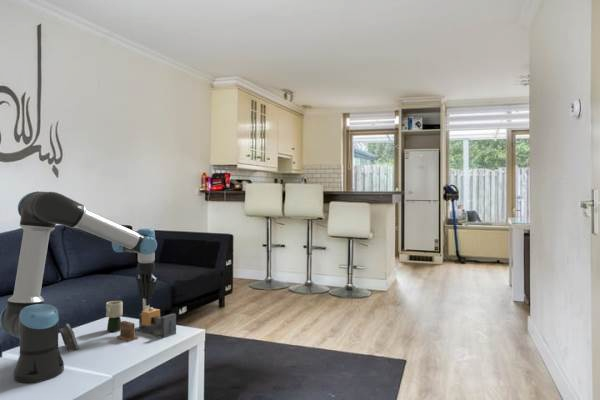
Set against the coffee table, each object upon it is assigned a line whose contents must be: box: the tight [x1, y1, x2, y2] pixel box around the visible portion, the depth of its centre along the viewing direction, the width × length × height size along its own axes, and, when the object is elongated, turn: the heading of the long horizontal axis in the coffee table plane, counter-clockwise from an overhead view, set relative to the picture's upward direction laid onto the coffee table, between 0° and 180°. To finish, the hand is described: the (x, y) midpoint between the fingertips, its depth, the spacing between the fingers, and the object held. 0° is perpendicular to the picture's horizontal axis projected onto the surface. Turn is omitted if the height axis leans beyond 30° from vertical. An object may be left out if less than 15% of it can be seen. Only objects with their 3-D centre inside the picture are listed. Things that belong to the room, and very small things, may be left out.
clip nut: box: [141, 307, 161, 326], centre depth 198 cm, size 6×5×7 cm
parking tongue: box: [116, 320, 139, 343], centre depth 188 cm, size 5×8×7 cm, turn 58°
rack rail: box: [134, 312, 177, 339], centre depth 197 cm, size 7×20×9 cm, turn 58°
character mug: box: [105, 300, 124, 332], centre depth 199 cm, size 11×7×13 cm, turn 176°
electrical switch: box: [58, 323, 80, 352], centre depth 176 cm, size 9×5×9 cm, turn 38°
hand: (146, 311), depth 200 cm, fingers closed
